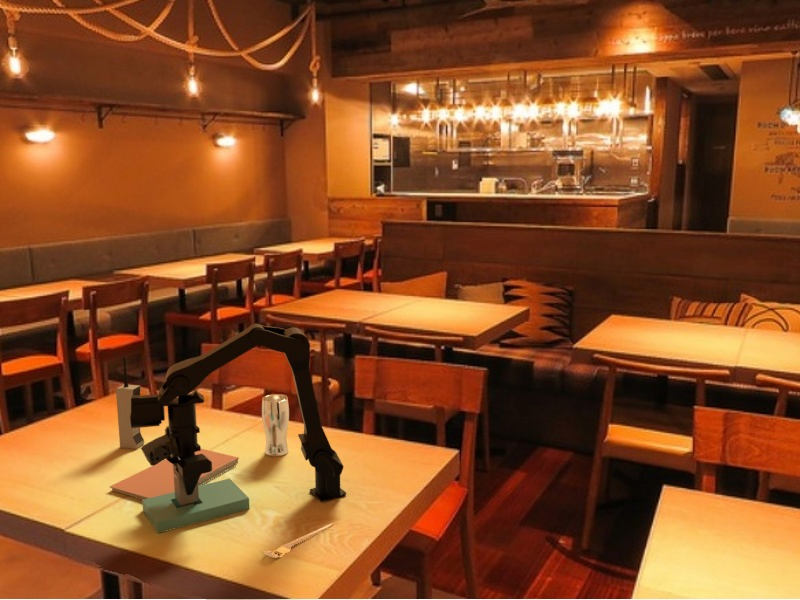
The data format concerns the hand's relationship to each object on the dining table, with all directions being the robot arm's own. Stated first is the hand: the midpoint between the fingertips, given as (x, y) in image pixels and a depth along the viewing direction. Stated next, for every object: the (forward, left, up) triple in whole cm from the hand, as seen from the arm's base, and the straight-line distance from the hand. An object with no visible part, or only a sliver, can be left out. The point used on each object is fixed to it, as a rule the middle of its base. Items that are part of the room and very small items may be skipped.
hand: (186, 490), depth 157 cm
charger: (0, 0, -2) cm, 2 cm away
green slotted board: (0, -2, -5) cm, 5 cm away
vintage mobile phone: (+45, +1, -5) cm, 45 cm away
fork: (-25, -16, -6) cm, 30 cm away
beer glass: (+20, -30, -5) cm, 36 cm away
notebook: (+19, -4, -6) cm, 20 cm away
